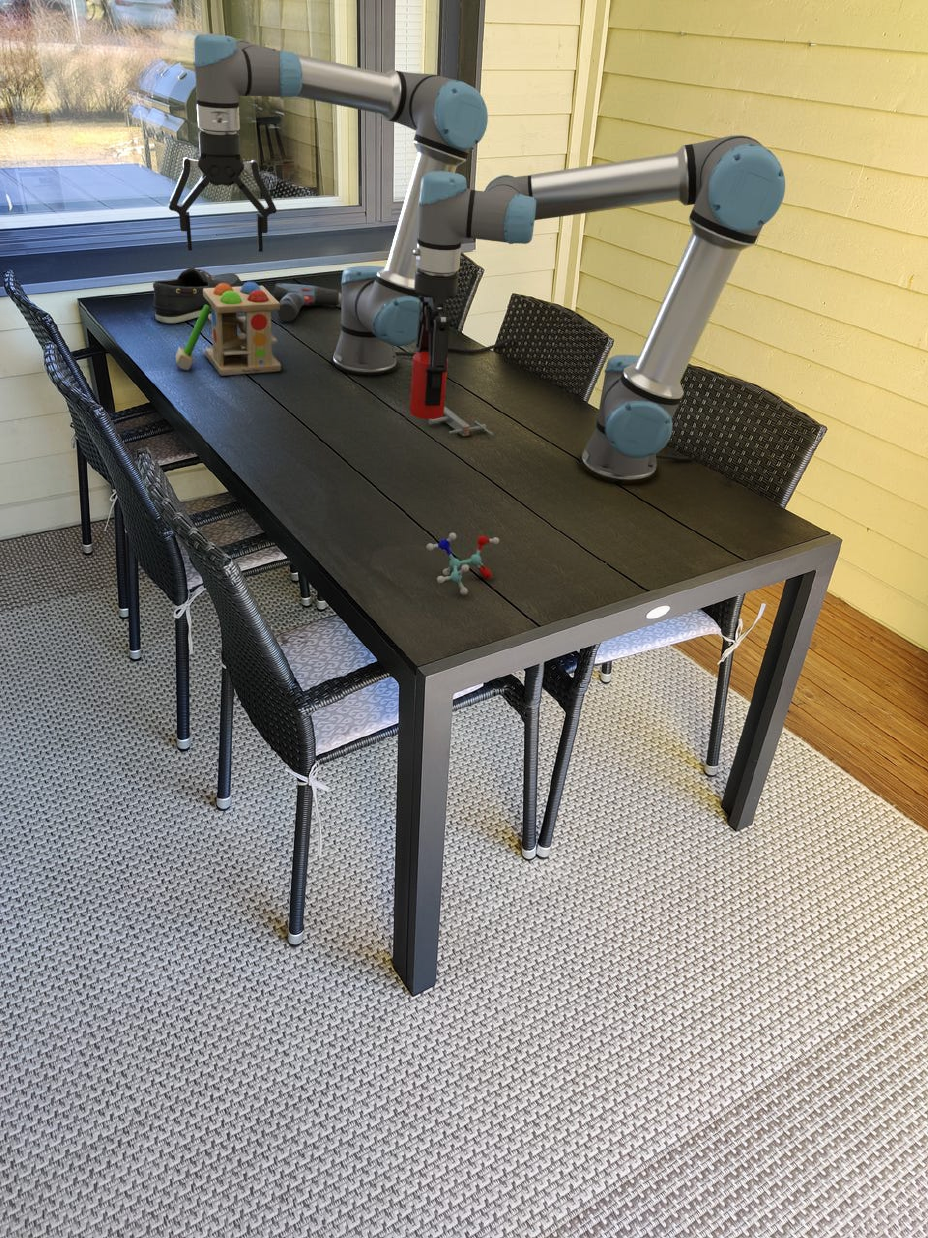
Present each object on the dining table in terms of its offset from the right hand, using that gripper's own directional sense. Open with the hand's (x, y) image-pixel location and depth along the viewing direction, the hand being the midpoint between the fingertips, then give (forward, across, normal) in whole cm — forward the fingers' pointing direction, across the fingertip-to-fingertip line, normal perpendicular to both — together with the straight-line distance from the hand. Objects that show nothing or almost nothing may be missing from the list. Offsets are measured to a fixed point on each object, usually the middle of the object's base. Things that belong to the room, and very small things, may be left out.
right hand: (428, 397), depth 182 cm
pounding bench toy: (+16, -61, -34) cm, 72 cm away
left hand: (-16, -38, -34) cm, 53 cm away
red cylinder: (+3, 0, 0) cm, 3 cm away
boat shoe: (+16, -104, -38) cm, 112 cm away
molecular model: (+16, +38, -3) cm, 41 cm away
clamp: (+16, -21, +12) cm, 29 cm away
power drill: (+16, -100, -10) cm, 102 cm away
